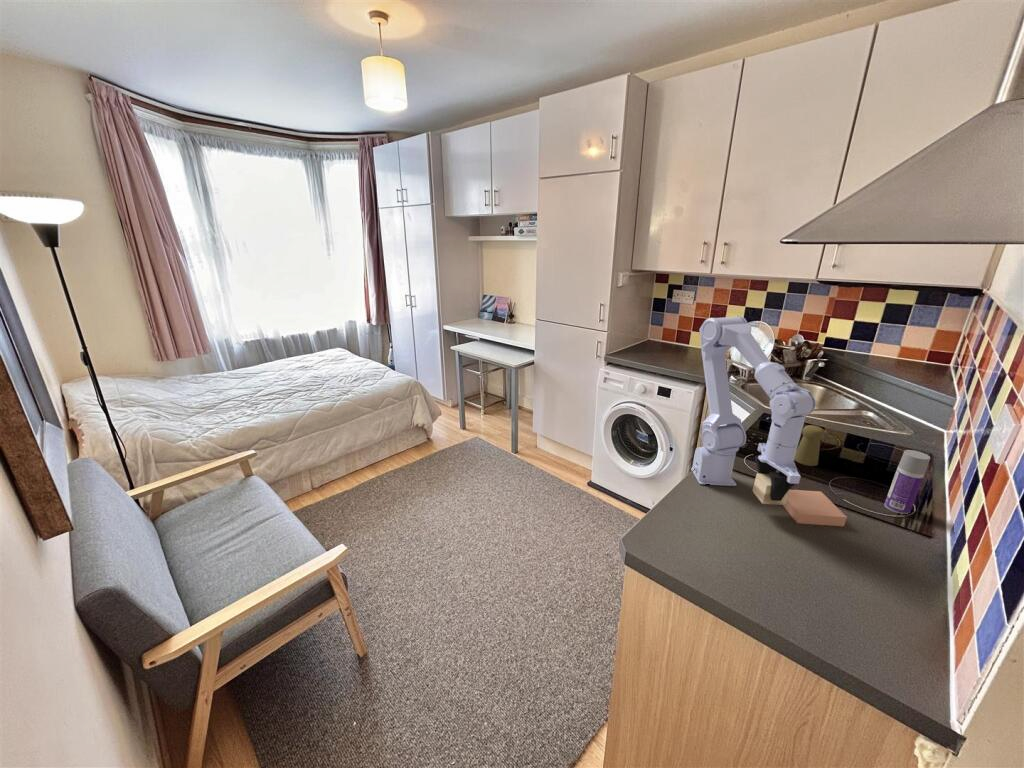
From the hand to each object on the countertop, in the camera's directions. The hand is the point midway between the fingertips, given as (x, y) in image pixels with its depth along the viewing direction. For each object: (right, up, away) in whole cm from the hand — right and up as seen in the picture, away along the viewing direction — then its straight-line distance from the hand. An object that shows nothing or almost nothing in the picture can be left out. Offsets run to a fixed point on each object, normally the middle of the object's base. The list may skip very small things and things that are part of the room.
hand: (769, 492), depth 96 cm
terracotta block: (+11, -6, +3) cm, 13 cm away
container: (+33, -5, +4) cm, 34 cm away
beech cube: (0, -1, 0) cm, 2 cm away
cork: (+26, +3, +25) cm, 37 cm away
